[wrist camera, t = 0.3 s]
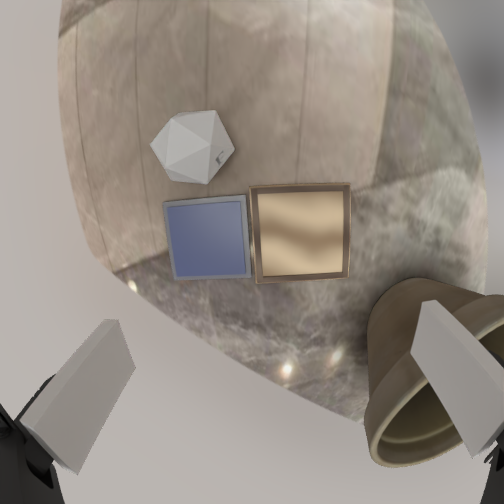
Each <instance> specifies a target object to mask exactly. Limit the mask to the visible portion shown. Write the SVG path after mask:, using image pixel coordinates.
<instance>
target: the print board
mask: <svg viewBox="0 0 504 504" xmlns="http://www.w3.org/2000/svg"><path fill="white" fill-rule="evenodd" d="M249 193H250V208H251V222H252V236H253V251H254V265H255V280H256V284H258V283H278V282H296V281H312V280H328V279H342V278H349V261H350V230H351V193H350V183H316V184H285V185H265V186H249Z"/></svg>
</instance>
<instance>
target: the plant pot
mask: <svg viewBox="0 0 504 504" xmlns="http://www.w3.org/2000/svg"><path fill="white" fill-rule="evenodd" d="M431 300H437V301H438V302H439V303H440V304H441V305H442V306H443V307H444V308H445V309H446V310H447V311H448V312H449V313H450V314H452V315H453V316H454V317H455V318H456V319H457V320H458V321H459V322H460V323H461V324H462V325H463V326H464V327H465V328H466V329H467V330H468V331H469V332H470V333H471V334H472V335H473V336H474V337H475V338H476V339H477V340H478V341H479V342H480V343H481V344H482V345H483V346H484V348H485V349H486V350H491V351H492V352H494V353H496V354H497V355H499V356H500V357H501V358H502V359H503V360H504V295H487V296H485V295H482V294H479V293H476V292H473V291H469V290H466V289H462V288H459V287H455V286H452V285H448V284H445V283H442V282H438V281H434V280H430V279H425V278H410V279H406V280H403V281H401V282H399V283H397V284H395V285H394V286H392V287H391V288H390V289H388V290H387V291H386V292H385V293H384V294H383V295H382V296H381V297H380V299H379V300H378V301H377V303H376V304H375V306H374V307H373V309H372V311H371V314H370V316H369V320H368V324H367V346H368V368H369V402H368V405H367V408H366V411H365V415H364V426H365V431H366V436H367V440H368V446H369V452H370V455H371V458H372V459H373V461H374V462H376V463H377V464H379V465H381V466H385V467H391V468H398V467H407V466H412V465H416V464H420V463H423V462H426V461H429V460H431V459H434V458H436V457H438V456H441V455H443V454H444V453H446V452H448V451H450V450H452V449H454V448H455V447H457V446H459V445H460V444H462V443H463V440H462V438H461V436H460V434H459V432H458V431H457V429H456V427H455V425H454V423H453V422H452V420H451V418H450V416H449V414H448V413H447V411H446V409H445V408H444V406H443V404H442V402H441V401H440V399H439V397H438V396H437V394H436V392H435V391H434V389H433V388H432V386H431V384H430V383H429V381H428V380H427V378H426V376H425V375H424V373H423V372H422V370H421V369H420V367H419V365H418V364H417V362H416V361H415V359H414V358H413V356H412V355H411V353H410V352H411V348H412V344H413V341H414V337H415V333H416V329H417V325H418V320H419V316H420V311H421V306H422V302H425V301H431Z"/></svg>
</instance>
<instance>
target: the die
mask: <svg viewBox="0 0 504 504" xmlns="http://www.w3.org/2000/svg"><path fill="white" fill-rule="evenodd" d="M150 146H151V148H152V149H153V151H154V153H155V154H156V156H157V158H158V159H159V161H160V163H161V164H162V166H163V168H164V169H165V171H166V173H167V174H168V176H169V178H170V179H171V181H180V182H190V183H199V184H208V183H209V182H210V180H211V179H212V178H213V176H214V175H215V174H216V173H217V171H218V170H219V169H220V168H221V166H222V165H223V164H224V163H225V161H226V160H227V159H228V158H229V156H230V155H231V154H232V153H233V152H234V150H235V148H234V146H233V144H232V142H231V140H230V138H229V136H228V134H227V132H226V130H225V128H224V126H223V124H222V122H221V120H220V118H219V116H218V114H217V112H216V110H210V111H193V112H180V113H177V114H176V115H175V116H173V117H172V118H171V119H170V120H169V121H168V122H167V124H166V125H165V126H164V127H163V129H162V130H161V131H160V132H159V134H158V135H157V136H156V137H155V139H154V140H153V141H152V143H151V144H150Z"/></svg>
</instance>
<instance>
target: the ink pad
mask: <svg viewBox="0 0 504 504" xmlns="http://www.w3.org/2000/svg"><path fill="white" fill-rule="evenodd" d="M163 211H164V219H165V227H166V234H167V241H168V248H169V254H170V260H171V267H172V272H173V278H174V280H202V279H229V278H252V271H251V258H250V244H249V230H248V217H247V203H246V195H232V196H219V197H207V198H196V199H186V200H177V201H168V202H163Z"/></svg>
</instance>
